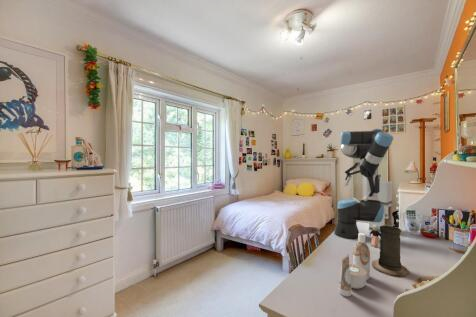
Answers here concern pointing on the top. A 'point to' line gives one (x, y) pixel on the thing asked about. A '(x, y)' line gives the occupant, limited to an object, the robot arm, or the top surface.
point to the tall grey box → (383, 202)
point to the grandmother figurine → (375, 236)
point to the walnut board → (389, 272)
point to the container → (390, 248)
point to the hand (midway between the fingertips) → (355, 192)
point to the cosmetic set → (355, 268)
